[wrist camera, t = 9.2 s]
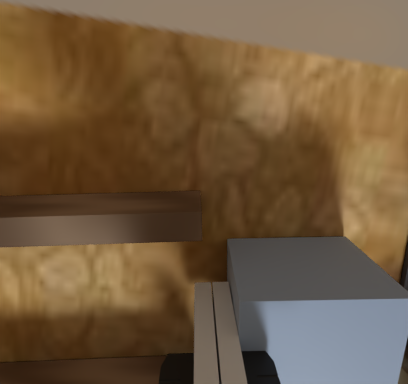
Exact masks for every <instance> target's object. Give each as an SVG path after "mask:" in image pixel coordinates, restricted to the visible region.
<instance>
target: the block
mask: <svg viewBox="0 0 408 384" xmlns="http://www.w3.org/2000/svg"><path fill="white" fill-rule="evenodd" d="M227 282H229V288H230V293H231V299H232V304H233V309H234V315H235V320H236V325H237V331H238V336H239V342H240V347H241V351H266V352H267V353H268V354H269V356H270V357H271V358H272V359H273V361H274V363H275V367H276V370H277V373H278V377H279V380H280V383H281V384H398V380H399V375H400V370H401V366H402V361H403V356H404V352H405V347H406V342H407V338H408V291H407V290H406V289H405V288H403V287H402V286H401V285H400V284H399V283H398V282H397V281H395V280H394V279H393V278H392V277H391V276H390V275H389V274H387V273H386V272H385V271H384V270H383V269H382V268H381V267H379V266H378V265H377V264H376V263H375V262H374V261H373V260H371V259H370V258H369V257H368V256H367V255H366V254H365V253H364V252H362V251H361V250H360V249H359V248H358V247H357V246H356V245H354V244H353V243H352V242H351V241H350V240H349V239H348V238H346V237H293V238H237V239H227Z"/></svg>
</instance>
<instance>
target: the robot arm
mask: <svg viewBox="0 0 408 384" xmlns="http://www.w3.org/2000/svg"><path fill="white" fill-rule="evenodd" d="M212 298H213V303H212ZM158 384H281V383H280V380H279V377H278V373H277V370H276V367H275V363H274V361H273V359H272V358H271V357H270V356H269V354H268V353H267V352H266V351H241V347H240V342H239V336H238V331H237V325H236V320H235V315H234V309H233V304H232V299H231V293H230V288H229V282H212V291H211V282H198V283H195V302H194V353H181V354H168V355H167V357H166V358H165V360H164V362H163V363H162V365H161V368H160V376H159V383H158Z"/></svg>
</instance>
